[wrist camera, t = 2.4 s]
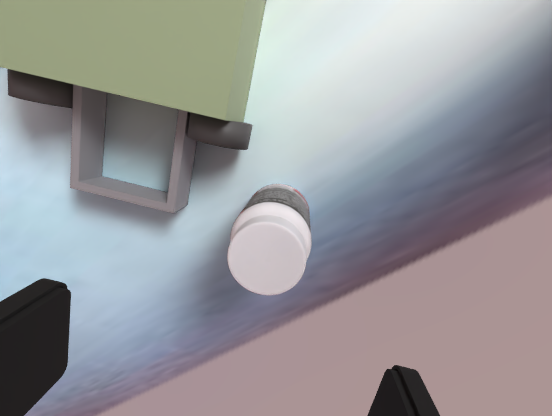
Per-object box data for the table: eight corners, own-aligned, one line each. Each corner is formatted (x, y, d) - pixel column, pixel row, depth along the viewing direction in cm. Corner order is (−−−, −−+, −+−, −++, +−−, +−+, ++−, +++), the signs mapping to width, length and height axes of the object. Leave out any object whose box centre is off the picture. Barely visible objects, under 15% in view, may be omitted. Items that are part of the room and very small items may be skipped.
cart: (295, -68, 18) (292, -141, 13) (238, 217, 23) (220, 240, 18) (46, -122, 18) (-46, -211, 14) (44, 169, 23) (-23, 180, 19)
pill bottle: (244, 186, 22) (210, 218, 14) (306, 179, 22) (308, 209, 14) (252, 244, 23) (226, 304, 15) (311, 239, 23) (316, 299, 15)
